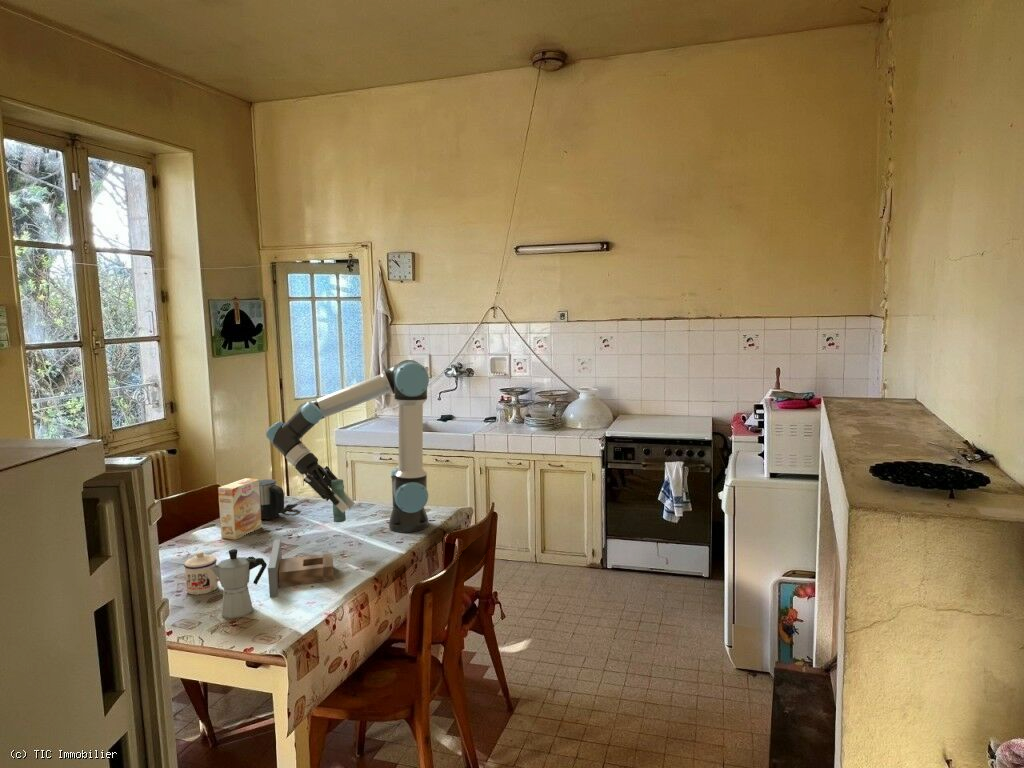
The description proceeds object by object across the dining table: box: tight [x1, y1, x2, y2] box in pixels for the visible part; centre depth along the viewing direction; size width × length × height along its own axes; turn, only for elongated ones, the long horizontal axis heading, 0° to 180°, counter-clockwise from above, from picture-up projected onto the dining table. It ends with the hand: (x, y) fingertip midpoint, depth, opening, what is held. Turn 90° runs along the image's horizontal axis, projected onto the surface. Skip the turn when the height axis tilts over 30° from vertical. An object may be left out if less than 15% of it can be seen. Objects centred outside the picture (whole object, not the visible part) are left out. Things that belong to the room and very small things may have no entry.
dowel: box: [331, 478, 347, 523], centre depth 235 cm, size 4×4×14 cm
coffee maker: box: [209, 548, 268, 620], centre depth 192 cm, size 15×9×18 cm, turn 114°
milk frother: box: [259, 478, 298, 520], centre depth 284 cm, size 14×16×15 cm
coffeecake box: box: [217, 477, 263, 541], centre depth 261 cm, size 15×7×20 cm, turn 161°
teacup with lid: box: [183, 551, 220, 596], centre depth 209 cm, size 12×9×12 cm
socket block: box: [279, 553, 335, 588], centre depth 217 cm, size 16×12×4 cm
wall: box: [267, 538, 283, 599], centre depth 214 cm, size 2×26×9 cm, turn 15°
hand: (348, 507), depth 234 cm, fingers closed on dowel, 4 cm apart
